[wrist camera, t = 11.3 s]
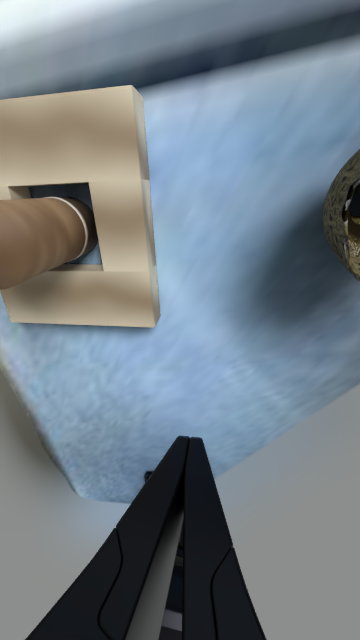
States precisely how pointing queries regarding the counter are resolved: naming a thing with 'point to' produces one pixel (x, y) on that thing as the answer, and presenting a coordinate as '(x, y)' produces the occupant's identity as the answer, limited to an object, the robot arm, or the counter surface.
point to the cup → (344, 216)
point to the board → (107, 199)
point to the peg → (42, 236)
